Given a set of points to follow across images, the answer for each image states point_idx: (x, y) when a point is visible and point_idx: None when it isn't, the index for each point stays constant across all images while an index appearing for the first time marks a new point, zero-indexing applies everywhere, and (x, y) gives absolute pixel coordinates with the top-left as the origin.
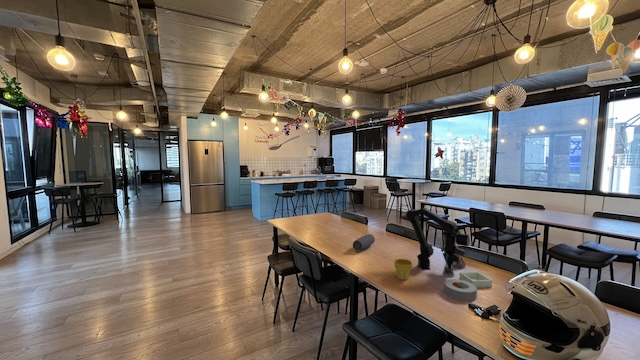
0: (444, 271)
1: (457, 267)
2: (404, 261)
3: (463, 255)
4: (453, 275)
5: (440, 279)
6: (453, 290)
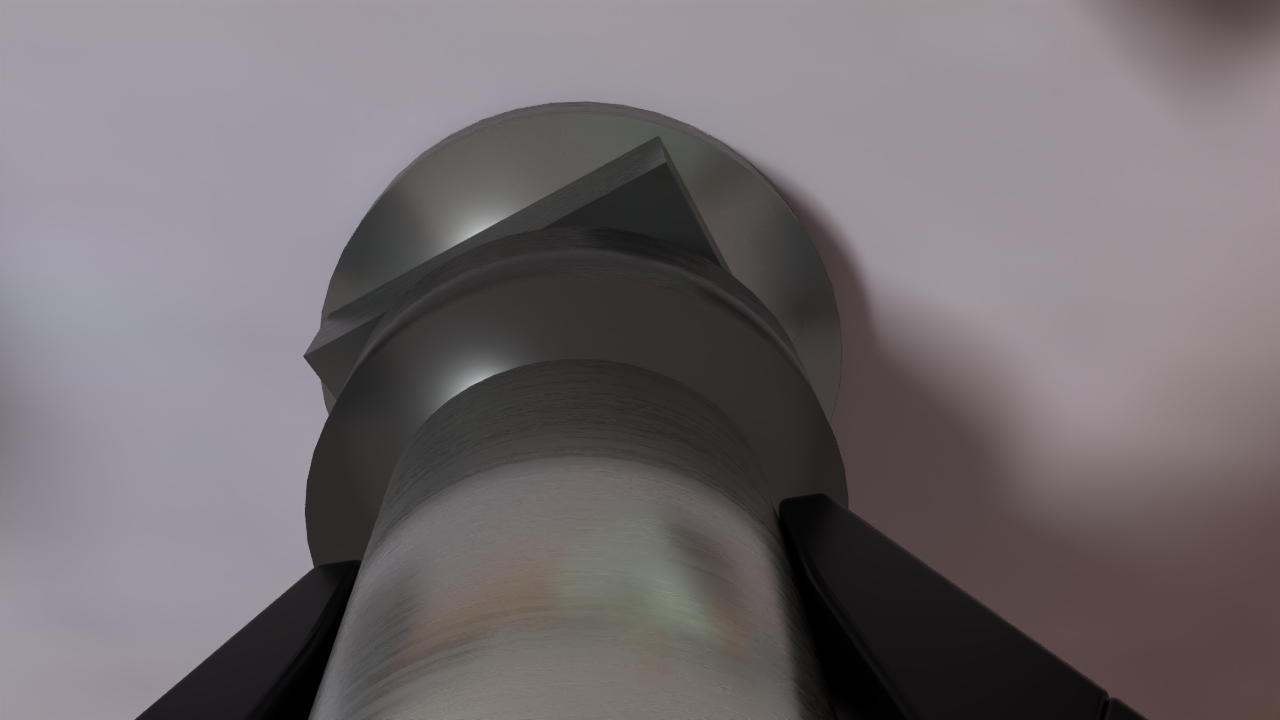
0: None
1: None
2: None
3: None
4: (734, 162)
5: (1178, 627)
6: None
